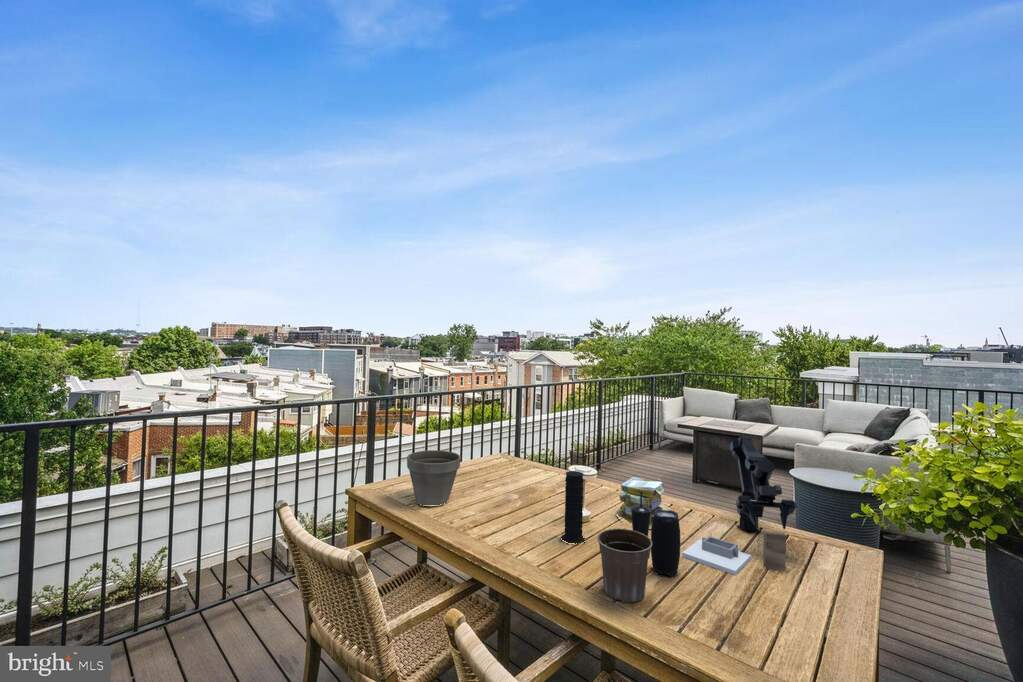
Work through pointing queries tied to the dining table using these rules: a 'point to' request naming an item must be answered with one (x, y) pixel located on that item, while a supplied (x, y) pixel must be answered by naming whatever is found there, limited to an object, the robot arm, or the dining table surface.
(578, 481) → the handle grip
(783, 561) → the wooden rectangular pillar
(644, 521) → the drinking cup
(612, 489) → the dining table surface
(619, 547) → the plant pot
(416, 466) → the plant pot
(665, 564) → the portable speaker
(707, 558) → the white base with frame
